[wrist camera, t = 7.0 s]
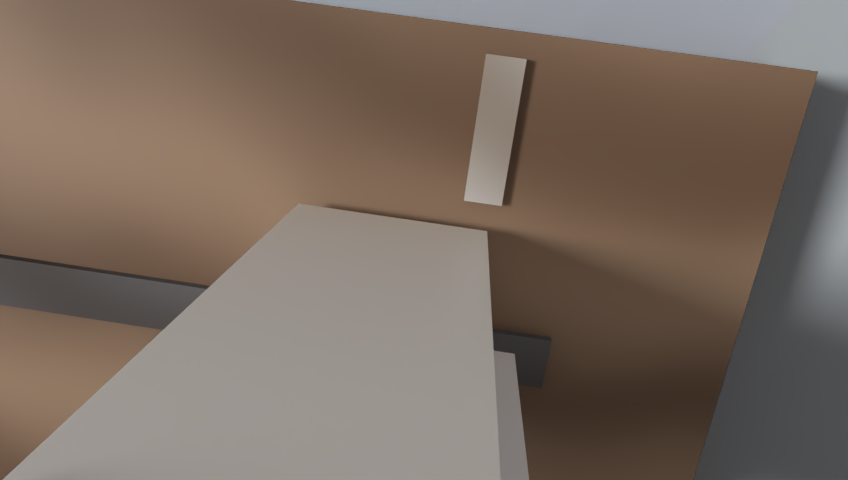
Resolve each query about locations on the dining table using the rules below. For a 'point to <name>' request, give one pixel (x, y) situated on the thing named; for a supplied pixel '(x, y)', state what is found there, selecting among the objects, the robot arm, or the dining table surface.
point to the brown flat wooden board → (390, 197)
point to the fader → (307, 366)
